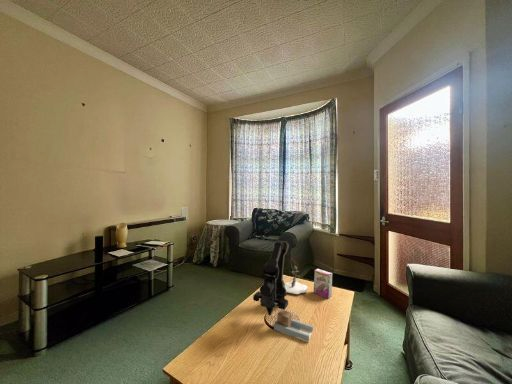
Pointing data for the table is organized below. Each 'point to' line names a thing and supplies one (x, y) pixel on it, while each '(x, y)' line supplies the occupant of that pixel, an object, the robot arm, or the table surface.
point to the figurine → (295, 285)
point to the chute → (296, 330)
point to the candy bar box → (323, 283)
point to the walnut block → (284, 318)
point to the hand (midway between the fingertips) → (269, 315)
